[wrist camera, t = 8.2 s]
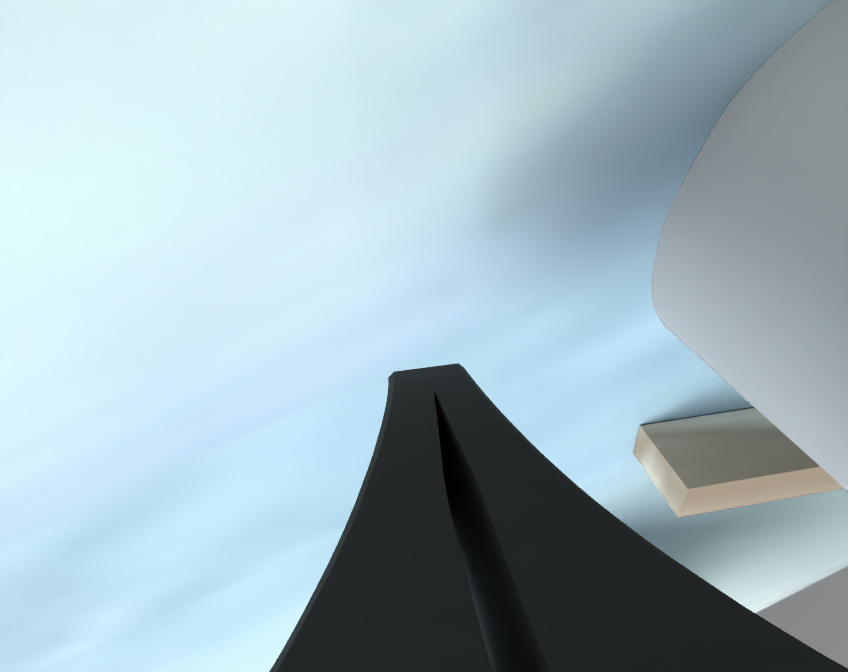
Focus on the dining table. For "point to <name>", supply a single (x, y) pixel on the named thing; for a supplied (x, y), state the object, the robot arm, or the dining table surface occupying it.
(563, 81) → the dining table surface
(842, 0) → the lumpy-topped squat cylinder
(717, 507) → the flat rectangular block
